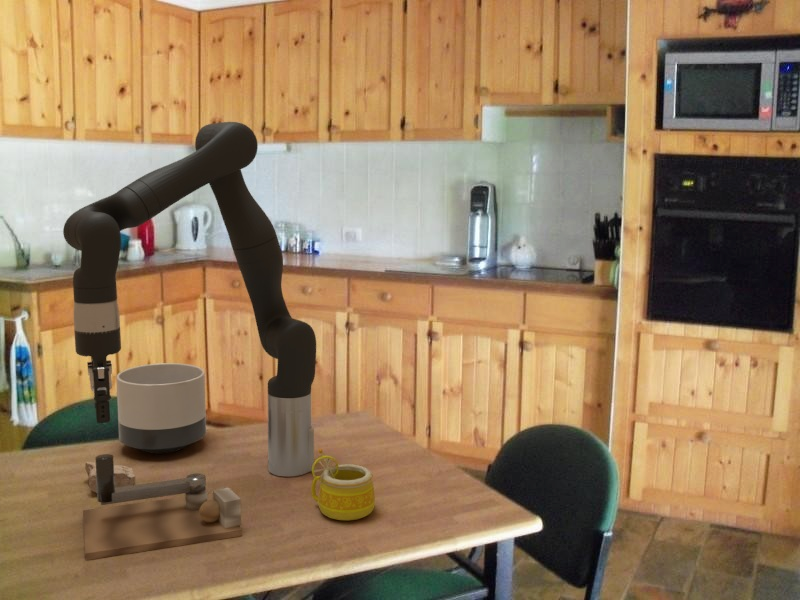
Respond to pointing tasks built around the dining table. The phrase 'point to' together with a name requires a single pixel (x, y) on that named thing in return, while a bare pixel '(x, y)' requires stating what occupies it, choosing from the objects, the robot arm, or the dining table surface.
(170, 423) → the planter
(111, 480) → the lever
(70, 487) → the dining table surface
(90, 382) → the robot arm
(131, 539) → the board
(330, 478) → the mug
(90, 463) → the stone
